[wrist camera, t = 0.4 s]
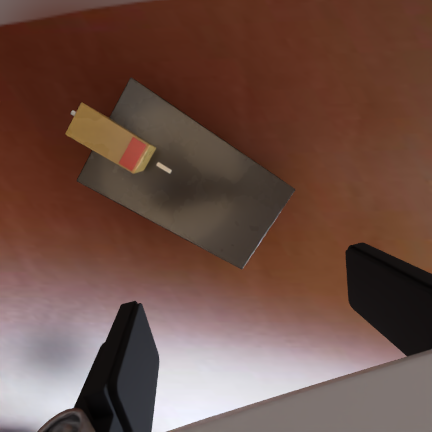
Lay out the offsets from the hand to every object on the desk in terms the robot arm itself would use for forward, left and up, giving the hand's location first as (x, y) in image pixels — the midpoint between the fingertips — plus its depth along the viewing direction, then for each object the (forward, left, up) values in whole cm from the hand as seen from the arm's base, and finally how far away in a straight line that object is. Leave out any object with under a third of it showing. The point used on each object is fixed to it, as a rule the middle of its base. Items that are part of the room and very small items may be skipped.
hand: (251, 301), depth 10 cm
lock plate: (-5, -3, -17) cm, 17 cm away
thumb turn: (-8, -7, -13) cm, 17 cm away
